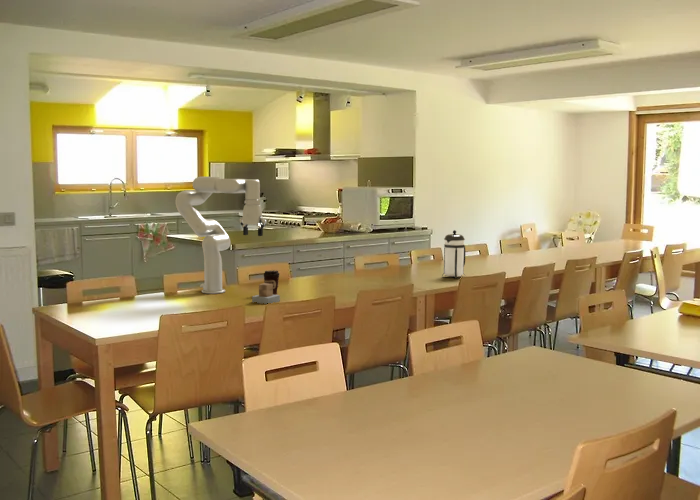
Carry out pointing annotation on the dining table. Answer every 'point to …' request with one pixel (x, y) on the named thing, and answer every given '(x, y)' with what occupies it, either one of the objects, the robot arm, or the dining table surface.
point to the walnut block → (265, 290)
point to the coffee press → (454, 255)
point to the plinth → (266, 299)
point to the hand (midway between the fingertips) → (252, 235)
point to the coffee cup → (272, 279)
